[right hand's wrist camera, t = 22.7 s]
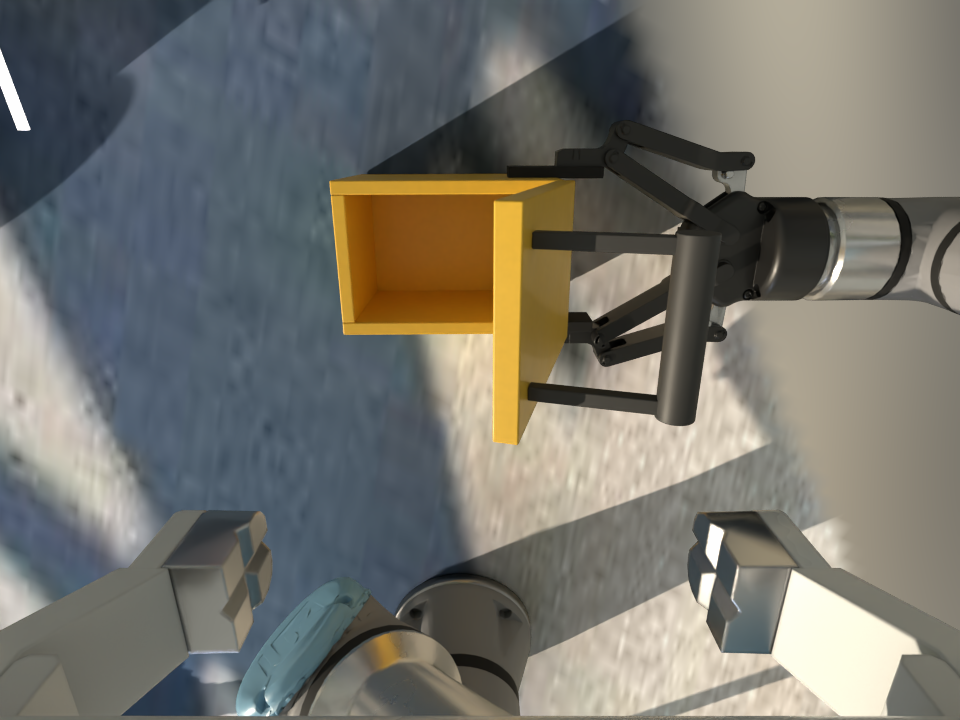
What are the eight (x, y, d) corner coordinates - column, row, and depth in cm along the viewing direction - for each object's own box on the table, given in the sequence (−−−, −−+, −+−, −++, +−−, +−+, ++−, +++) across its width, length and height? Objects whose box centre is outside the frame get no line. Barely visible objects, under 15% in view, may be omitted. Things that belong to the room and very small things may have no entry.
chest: (370, 298, 49) (343, 335, 39) (361, 174, 46) (329, 180, 36) (541, 297, 49) (557, 333, 40) (545, 173, 46) (564, 179, 36)
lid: (491, 442, 25) (694, 469, 23) (493, 199, 21) (734, 204, 19) (550, 336, 39) (677, 346, 37) (556, 180, 35) (698, 181, 33)
